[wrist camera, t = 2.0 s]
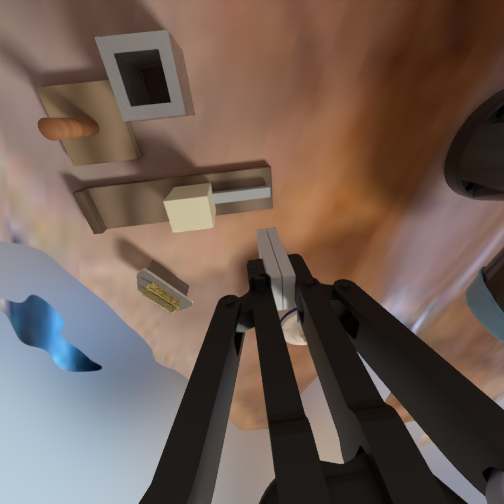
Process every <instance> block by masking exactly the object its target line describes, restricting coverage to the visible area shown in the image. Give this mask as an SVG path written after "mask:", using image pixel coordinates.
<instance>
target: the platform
mask: <svg viewBox="0 0 504 504" xmlns="http://www.w3.org/2000/svg"><path fill="white" fill-rule="evenodd" d="M137 284H138V290H139V291H140V292H142V293H143V294H144V295H145V296H144V295H143V296H144V297H146V296H147V297H146V298H148V299H149V298H150V299H149V300H151V301H152V300H153V301H152V302H154V303H156V304H157V303H158V304H157V305H159V306H160V305H161V306H160V307H162V306H163V307H162V308H164V307H166V308H167V309H169V310H171V311H169V310H167V309H165V308H164V309H165V310H167V311H169V312H170V313H173V312H175V311H178V310H182V309H186V308H188V307H190V306H191V305H192V303H193V301H192V300H191V299H190V298H188V297H187V293H188V288H189V285H187V284H186V283H184V282H183V281H182V280H180V279H179V278H178V277H176V276H175V275H173V274H172V273H171V272H169V271H168V270H166V269H165V268H164V267H162V266H161V265H159V264H158V263H157V262H155V261H154V260H153V261H152V263H151V265H150V267H149V269H146V268H143V269H142V270H140V271H139V272H138V274H137ZM155 287H156V288H158V289H156V288H155ZM150 288H151V289H150ZM155 290H156V291H158V292H159V293H161V294H159V293H157V292H156V291H155ZM159 290H161V291H159ZM162 291H163V292H162ZM165 294H166V295H165ZM167 295H169V296H171V297H168V296H167ZM164 297H165V298H164ZM166 298H168V299H170V300H167V299H166ZM173 298H175V299H177V300H178V301H177V300H174V299H173ZM172 301H174V302H176V303H173V302H172Z"/></svg>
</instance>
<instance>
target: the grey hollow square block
mask: <svg viewBox="0 0 504 504" xmlns="http://www.w3.org/2000/svg"><path fill="white" fill-rule="evenodd" d="M94 38H95V41H96V43H97V46H98V49H99V52H100V55H101V58H102V61H103V64H104V66H105V69H106V72H107V75H108V78H109V81H110V84H111V87H112V90H113V92H114V95H115V98H116V101H117V104H118V107H119V110H120V113H121V115H122V118H123V121H124V122H126V121H145V120H155V119H164V118H173V117H182V116H191V115H195V112H194V107H193V102H192V97H191V92H190V87H189V82H188V77H187V71H186V66H185V61H184V56H183V51H182V50H181V48H180V47H179V45H178V44H177V42H176V41H175V40H174V38H173V37H172V35H171V34H170V33H169V31H168V30H161V31H151V32H141V33H131V34H121V35H111V36H101V37H94ZM160 66H163V70H164V74H165V78H166V82H167V87H168V91H169V95H170V99H171V102H170V103H161V104H151V102H150V98H149V95H148V91H147V88H146V84H145V80H144V77H143V73H142V70H141V68H151V67H160Z"/></svg>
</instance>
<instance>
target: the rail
mask: <svg viewBox="0 0 504 504" xmlns="http://www.w3.org/2000/svg"><path fill="white" fill-rule="evenodd" d="M204 183H211V187H212V192H217V191H226V190H234V189H242V188H250V187H259V186H267V185H269V186H270V197H267V198H259V199H251V200H243V201H235V202H227V203H218V204H215V208H216V214H215V215H224V214H232V213H240V212H248V211H256V210H264V209H272V208H273V200H272V179H271V167H270V166H264V167H255V168H247V169H238V170H230V171H222V172H213V173H205V174H196V175H188V176H179V177H171V178H162V179H154V180H146V181H137V182H129V183H120V184H112V185H103V186H95V187H87V188H82V189H80V190H78V191H76V192H74V193H73V195H74V197H75V199H76V201H77V203H78V205H79V206H80V208H81V210H82V212H83V214H84V216H85V218H86V220H87V222H88V223H89V225H90V227H91V229H92V231H93V233H94V234H100V233H103V232H104V231H105V230H107V229H111V228H119V227H127V226H135V225H143V224H151V223H159V222H167V221H169V218H168V215H167V212H166V208H165V205H164V202H163V201H164V200H165V199H166V197H167V196H168V195H169V193H170V192H171V191H172V189H173V188H174V187H179V186H188V185H196V184H204Z"/></svg>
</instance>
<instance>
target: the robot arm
mask: <svg viewBox="0 0 504 504" xmlns="http://www.w3.org/2000/svg"><path fill="white" fill-rule="evenodd" d="M445 175H446V180H447V183H448V185H449V186H450V188H451V189H452V190H453V191H454V192H456V193H457V194H459V195H462V196H465V197H468V198H471V199H476V200H494V201H504V90H503V91H501V92H499V93H497V94H496V95H494V96H493V97H491V98H490V99H489V100H487V101H486V102H485V103H484V104H483V105H481V106H480V107H479V108H478V109H477V110H476V111H475V112H474V113H473V114H472V115H471V116H470V118H469V119H468V120H467V121H466V122H465V124H464V125H463V126H462V128H461V129H460V131H459V132H458V134H457V136H456V137H455V139H454V141H453V143H452V145H451V147H450V150H449V153H448V156H447V160H446V167H445ZM257 240H258V251H259V259H256V260H249V262H248V264H247V270H248V278H249V286H250V289H249V291H248V292H247V293H246V294H245V295H244V296H242V297H239V298H238V297H237V296H235V295H226V296H224V297H222V298H221V299H220V300H219V301H218V304H217V306H216V309H215V312H214V314H213V317H212V320H211V323H210V325H209V328H208V331H207V333H206V336H205V339H204V342H203V344H202V347H201V350H200V352H199V355H198V358H197V361H196V363H195V366H194V369H193V371H192V374H191V377H190V380H189V382H188V385H187V388H186V390H185V393H184V396H183V399H182V401H181V404H180V407H179V409H178V412H177V415H176V417H175V420H174V423H173V426H172V429H171V431H170V434H169V437H168V439H167V442H166V445H165V448H164V450H163V453H162V456H161V458H160V461H159V464H158V466H157V469H156V472H155V475H154V477H153V480H152V483H151V485H150V487H149V488H148V490H147V491H146V493H145V494H144V496H143V498H142V499H141V501H140V502H139V504H211V501H212V497H213V493H214V488H215V483H216V478H217V473H218V468H219V463H220V458H221V452H222V448H223V442H224V438H225V432H226V427H227V422H228V417H229V412H230V407H231V402H232V397H233V392H234V387H235V382H236V377H237V372H238V366H239V361H240V356H241V351H242V346H243V341H244V336H245V331H246V330H249V329H251V328H253V327H255V331H256V339H257V346H258V353H259V361H260V368H261V375H262V383H263V390H264V397H265V405H266V412H267V419H268V427H269V434H270V441H271V449H272V456H273V464H274V471H275V479H274V480H273V481H272V482H271V483H270V485H269V486H268V487H267V489H266V490H265V492H264V494H263V496H262V498H261V500H260V502H259V504H468V503H467V502H465V501H464V500H463V499H462V498H461V497H460V496H458V495H457V494H456V493H455V492H454V491H453V490H451V489H450V488H449V487H448V486H446V485H445V484H444V483H443V482H442V481H441V480H439V479H438V478H437V477H436V476H435V475H434V474H432V472H431V470H430V469H429V467H428V465H427V463H426V462H425V460H424V458H423V456H422V455H421V453H420V451H419V449H418V448H417V446H416V444H415V442H414V440H413V439H412V437H411V435H410V433H409V431H408V430H407V428H406V426H405V425H404V423H403V421H402V419H401V417H400V416H399V414H398V413H397V411H396V410H395V409H394V408H393V407H392V406H390V405H388V404H386V403H385V402H384V401H383V399H382V398H381V396H380V394H379V392H378V390H377V389H376V386H375V385H374V383H373V381H372V379H371V377H370V375H369V373H368V372H367V370H366V368H365V366H364V365H363V362H362V360H361V359H360V357H359V355H358V353H359V354H360V355H361V356H362V358H363V359H364V360H365V361H366V362H367V364H368V365H369V366H370V367H371V368H372V370H373V371H374V372H375V373H376V374H377V375H378V377H379V378H380V379H381V380H382V381H383V382H384V384H385V385H386V386H387V388H388V389H389V390H390V391H391V392H392V394H393V395H394V396H395V397H396V398H397V399H398V401H399V402H400V403H401V404H402V405H403V407H404V408H405V409H406V410H407V411H408V413H409V414H410V415H411V416H412V417H413V419H414V420H415V421H416V422H417V423H418V425H419V426H420V427H421V428H422V429H423V431H424V432H425V433H426V434H427V435H428V436H429V438H430V439H431V440H432V441H433V442H434V443H435V445H436V446H437V447H438V448H439V450H440V451H441V452H442V453H443V454H444V455H445V456H446V458H447V459H448V460H449V461H450V462H451V463H452V464H453V466H454V467H455V468H456V469H457V470H458V471H459V472H460V473H461V474H462V475H463V476H464V477H465V478H466V479H467V480H468V481H469V482H470V483H471V484H472V485H473V486H474V487H475V488H476V489H477V490H478V491H480V492H481V493H482V494H483V495H484V496H485V497H486V500H487V503H488V504H504V410H503V409H502V408H501V407H500V406H499V405H498V404H496V403H495V402H494V401H493V400H492V399H491V398H489V397H488V396H487V395H486V394H485V393H483V392H482V391H481V390H480V389H479V388H478V387H476V386H475V385H474V384H473V383H472V382H471V381H469V380H468V379H467V378H466V377H465V376H463V375H462V374H461V373H460V372H459V371H458V370H456V369H455V368H454V367H453V366H452V365H450V364H449V363H448V362H447V361H446V360H445V359H443V358H442V357H441V356H440V355H439V354H438V353H436V352H435V351H434V350H433V349H432V348H430V347H429V346H428V345H427V344H426V343H425V342H423V341H422V340H421V339H420V338H419V337H417V336H416V335H415V334H414V333H413V332H412V331H410V330H409V329H408V328H407V327H406V326H405V325H403V324H402V323H401V322H400V321H399V320H397V319H396V318H395V317H394V316H393V315H392V314H390V313H389V312H388V311H387V310H386V309H385V308H383V307H382V306H381V305H380V304H379V303H377V302H376V301H375V300H374V299H373V298H372V297H370V296H369V295H368V294H367V293H366V292H364V291H363V290H362V289H361V288H360V287H359V286H357V285H356V284H355V283H354V282H352V281H350V280H346V279H340V280H337V281H335V282H334V284H333V285H326V284H321V283H320V282H319V281H318V280H317V279H315V278H314V277H312V275H311V273H310V271H309V269H308V267H307V266H306V263H305V262H304V260H303V258H302V257H301V256H300V255H299V254H290V255H287V254H286V251H285V249H284V247H283V244H282V242H281V240H280V237H279V235H278V233H277V230H276V228H275V227H273V228H265V229H257ZM465 299H466V302H467V305H468V307H469V308H470V310H471V312H472V314H473V315H474V316H475V317H476V319H477V320H478V321H479V322H480V323H481V324H482V325H483V326H484V327H485V328H486V329H487V330H488V331H489V332H490V333H491V334H492V335H494V336H495V337H496V338H497V339H498V340H500V341H501V342H502V343H504V247H503V248H502V250H501V251H500V252H499V253H498V254H497V255H496V256H495V257H494V258H493V259H492V260H491V261H490V262H489V264H488V265H487V266H485V267H482V268H481V269H480V270H479V273H478V276H477V277H476V278H475V279H474V281H473V282H472V283H471V284H470V286H469V287H468V288H467V290H466V293H465ZM295 303H296V306H297V323H299V321H300V324H301V327H302V330H303V333H304V336H305V339H306V342H307V345H308V347H309V350H310V353H311V356H312V359H313V362H314V365H315V368H316V371H317V374H318V377H319V380H320V382H321V386H322V389H323V392H324V395H325V398H326V400H327V403H328V406H329V409H330V412H331V415H332V418H333V421H334V424H335V427H336V430H337V433H338V436H339V440H340V447H341V452H342V457H343V460H344V464H337V463H331V462H326V461H320V458H319V455H318V451H317V448H316V444H315V440H314V436H313V433H312V430H311V426H310V423H309V420H308V418H307V417H306V415H305V413H304V409H303V406H302V401H301V398H300V394H299V390H298V386H297V382H296V379H295V375H294V371H293V367H292V363H291V360H290V356H289V352H288V348H287V345H286V341H285V337H284V333H283V329H282V326H281V322H280V318H279V314H278V310H283V309H284V310H285V309H293V308H295ZM357 352H358V353H357Z"/></svg>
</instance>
